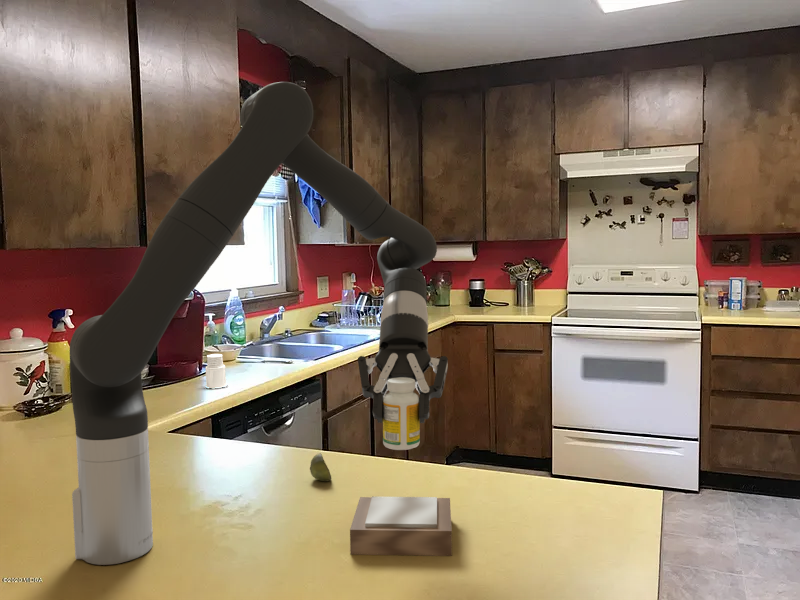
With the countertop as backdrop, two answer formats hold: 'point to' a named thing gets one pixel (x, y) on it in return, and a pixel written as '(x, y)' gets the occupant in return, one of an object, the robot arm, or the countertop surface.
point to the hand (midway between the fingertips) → (400, 419)
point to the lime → (319, 468)
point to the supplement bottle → (401, 415)
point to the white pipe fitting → (215, 371)
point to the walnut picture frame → (402, 526)
